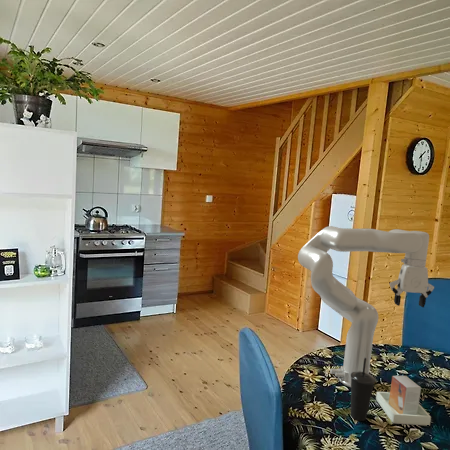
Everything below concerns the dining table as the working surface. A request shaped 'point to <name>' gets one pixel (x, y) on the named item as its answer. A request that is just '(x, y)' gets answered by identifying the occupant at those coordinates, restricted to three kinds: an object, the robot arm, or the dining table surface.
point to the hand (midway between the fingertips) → (409, 305)
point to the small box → (404, 395)
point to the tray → (397, 418)
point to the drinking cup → (361, 393)
